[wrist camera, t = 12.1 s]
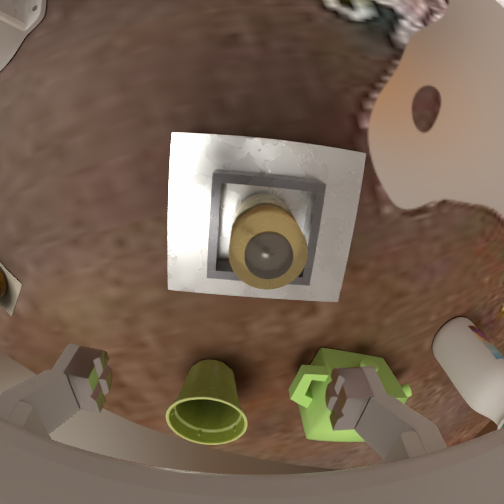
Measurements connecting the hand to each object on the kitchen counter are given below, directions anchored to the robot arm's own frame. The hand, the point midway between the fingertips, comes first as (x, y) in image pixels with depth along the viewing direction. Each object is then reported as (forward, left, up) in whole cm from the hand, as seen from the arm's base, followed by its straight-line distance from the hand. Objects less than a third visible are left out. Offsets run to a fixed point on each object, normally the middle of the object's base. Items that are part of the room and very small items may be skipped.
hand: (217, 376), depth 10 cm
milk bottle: (+15, +33, -24) cm, 44 cm away
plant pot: (+22, -2, -24) cm, 33 cm away
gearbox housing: (-1, +2, -23) cm, 23 cm away
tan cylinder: (-1, +2, -17) cm, 17 cm away
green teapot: (+21, +17, -24) cm, 36 cm away
